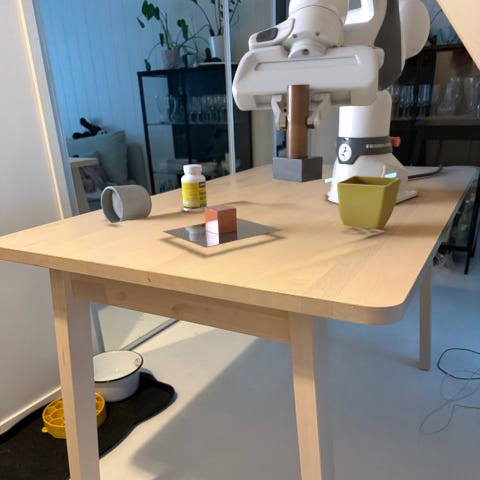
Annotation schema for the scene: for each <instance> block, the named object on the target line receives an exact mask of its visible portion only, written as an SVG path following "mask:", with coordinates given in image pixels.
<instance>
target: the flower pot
mask: <svg viewBox="0 0 480 480" xmlns="http://www.w3.org/2000/svg"><path fill="white" fill-rule="evenodd" d="M400 180H401V178H393V177H371V176H352V177H350V178H348V179H346V180H344V181H341V182H338V183H337V193H338V203H337V205H338V206H337V207H338V213H339V214H338V215H339V217H340V220H341V222H342V225H343V226H345V227H355V228H356V227H357V228H366V229H374V230H379V231H381V230H383V229H384V227H385V226H386V225H387V222H389V220H390V218H391V216H392V214H393V212H394V209H395V206H396V204H397V203H396V198H397V194H398V190H399V185H400Z"/></svg>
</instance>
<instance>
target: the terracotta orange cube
mask: <svg viewBox="0 0 480 480" xmlns="http://www.w3.org/2000/svg"><path fill="white" fill-rule="evenodd" d="M237 218H238V216H237V207H235V206H230V205H227V204H219V205H212V206H207V207H204V223H206V231H209V232H213V233H216V234H223V233H228V232H232V231H237Z"/></svg>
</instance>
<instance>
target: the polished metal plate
mask: <svg viewBox="0 0 480 480" xmlns="http://www.w3.org/2000/svg"><path fill="white" fill-rule="evenodd" d="M280 231H282V229H280V228H276V227H272V226H270V225H266V224H261V223H259V222H258V223H257V222H254V221H249V220H247V219H243V218H239V217H237V231H232V232H228V233H223V234H216V233H213V232H209V231H206V223H205V222H203V223H198V224H193V225H188V226H187V225H186V226H183V227H178V228H173V229H167V230H163V231H162V233H165V234H168V235H170V236H172V237H175V238H179V239H181V240H183V241H186V242H188V243H191V244H194V245H197V246H199V247H202V248H204V249H206V248H210V247H215V246H219V245H222V244H223V245H224V244H227V243H232V242H235V241H241V240H244V239H249V238H254V237H257V236H261V235H266V234H270V233H274V232H280Z"/></svg>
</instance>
